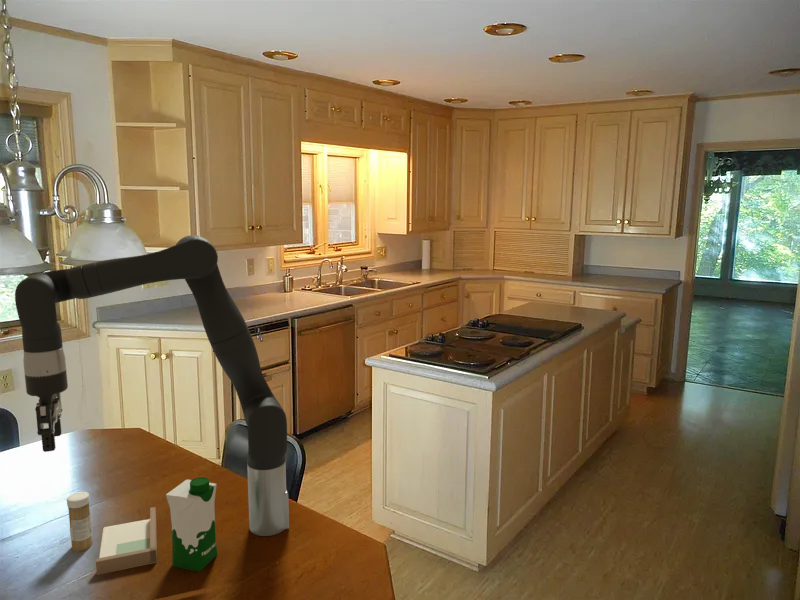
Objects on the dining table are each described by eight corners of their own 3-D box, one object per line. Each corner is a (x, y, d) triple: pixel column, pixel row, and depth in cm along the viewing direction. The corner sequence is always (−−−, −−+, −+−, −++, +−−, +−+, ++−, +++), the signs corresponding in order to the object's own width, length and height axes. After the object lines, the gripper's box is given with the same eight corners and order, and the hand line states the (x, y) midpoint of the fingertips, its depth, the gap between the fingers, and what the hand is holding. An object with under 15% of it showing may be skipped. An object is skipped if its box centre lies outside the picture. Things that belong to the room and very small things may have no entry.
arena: (156, 520, 151) (155, 506, 151) (156, 565, 133) (155, 549, 132) (103, 530, 147) (102, 516, 146) (97, 577, 129) (95, 561, 128)
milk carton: (201, 578, 129) (196, 492, 126) (165, 570, 131) (160, 486, 128) (223, 555, 137) (220, 474, 134) (189, 548, 140) (185, 468, 136)
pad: (149, 538, 142) (149, 538, 142) (149, 555, 136) (149, 554, 136) (117, 544, 139) (117, 544, 139) (115, 561, 133) (115, 560, 133)
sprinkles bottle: (76, 544, 141) (71, 491, 139) (96, 543, 141) (92, 490, 139) (68, 555, 136) (62, 501, 134) (88, 554, 137) (84, 500, 135)
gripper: (60, 377, 119) (68, 453, 122) (70, 359, 132) (76, 428, 135) (17, 381, 117) (25, 459, 119) (31, 362, 130) (38, 433, 132)
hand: (52, 442), depth 127 cm, fingers open, 8 cm apart
